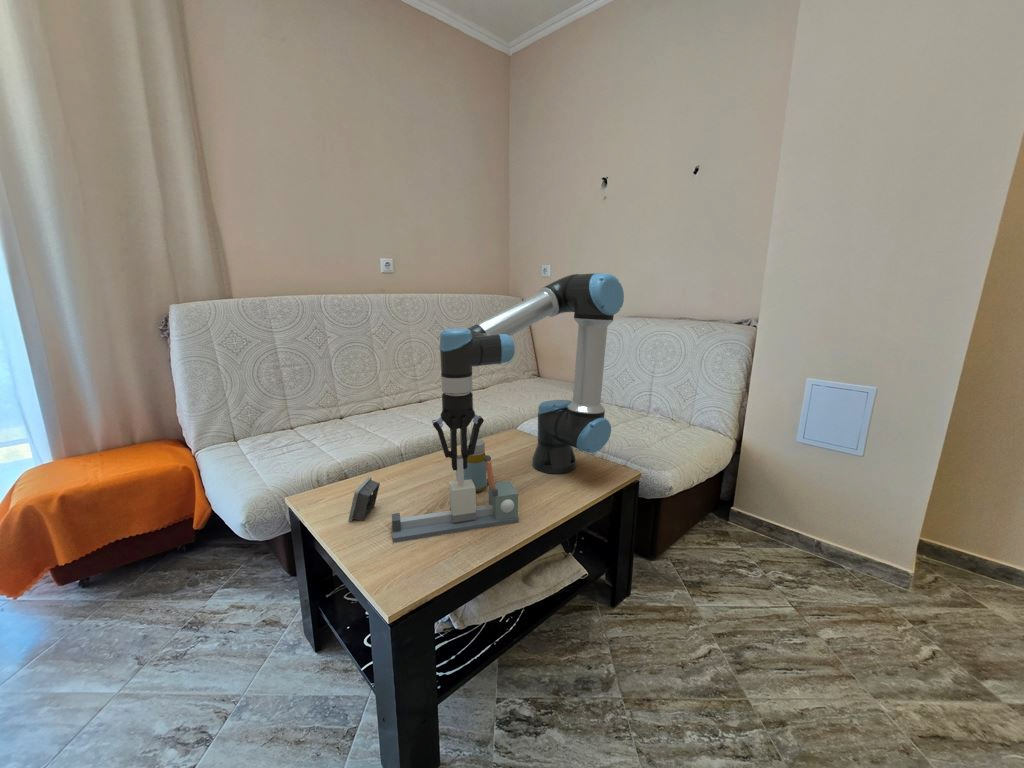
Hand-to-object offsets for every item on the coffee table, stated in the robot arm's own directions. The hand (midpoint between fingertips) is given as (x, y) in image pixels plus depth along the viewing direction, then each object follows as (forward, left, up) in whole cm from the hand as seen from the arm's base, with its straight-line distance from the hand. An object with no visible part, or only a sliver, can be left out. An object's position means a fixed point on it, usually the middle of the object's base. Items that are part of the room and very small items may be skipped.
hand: (459, 480), depth 108 cm
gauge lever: (-9, 0, -3) cm, 9 cm away
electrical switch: (+24, -12, -12) cm, 30 cm away
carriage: (-1, 0, -10) cm, 10 cm away
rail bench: (+1, 0, -12) cm, 12 cm away
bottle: (-8, -18, -12) cm, 23 cm away
